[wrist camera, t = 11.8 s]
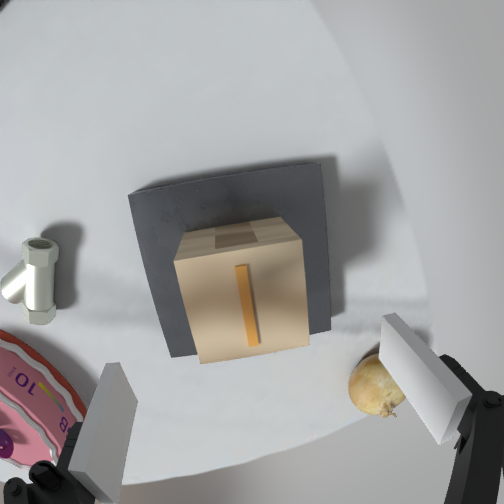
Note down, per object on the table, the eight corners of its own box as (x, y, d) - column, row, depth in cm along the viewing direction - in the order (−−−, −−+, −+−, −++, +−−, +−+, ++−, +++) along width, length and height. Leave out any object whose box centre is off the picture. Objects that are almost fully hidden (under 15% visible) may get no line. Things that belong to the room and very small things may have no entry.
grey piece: (133, 192, 26) (105, 207, 19) (313, 162, 27) (347, 168, 20) (173, 346, 31) (165, 396, 24) (325, 320, 32) (351, 363, 25)
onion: (332, 366, 34) (353, 406, 28) (390, 331, 34) (420, 365, 27) (352, 401, 37) (372, 439, 30) (403, 370, 37) (429, 403, 30)
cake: (124, 448, 36) (112, 506, 26) (19, 450, 36) (2, 491, 26) (23, 305, 28) (-26, 356, 18) (-63, 338, 28) (-98, 374, 18)
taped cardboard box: (289, 302, 29) (310, 346, 22) (202, 317, 28) (200, 365, 22) (280, 216, 26) (302, 240, 19) (184, 232, 26) (173, 262, 19)
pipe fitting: (14, 293, 28) (59, 312, 29) (-5, 307, 24) (42, 330, 25) (15, 226, 26) (64, 242, 27) (-7, 235, 22) (43, 254, 23)
